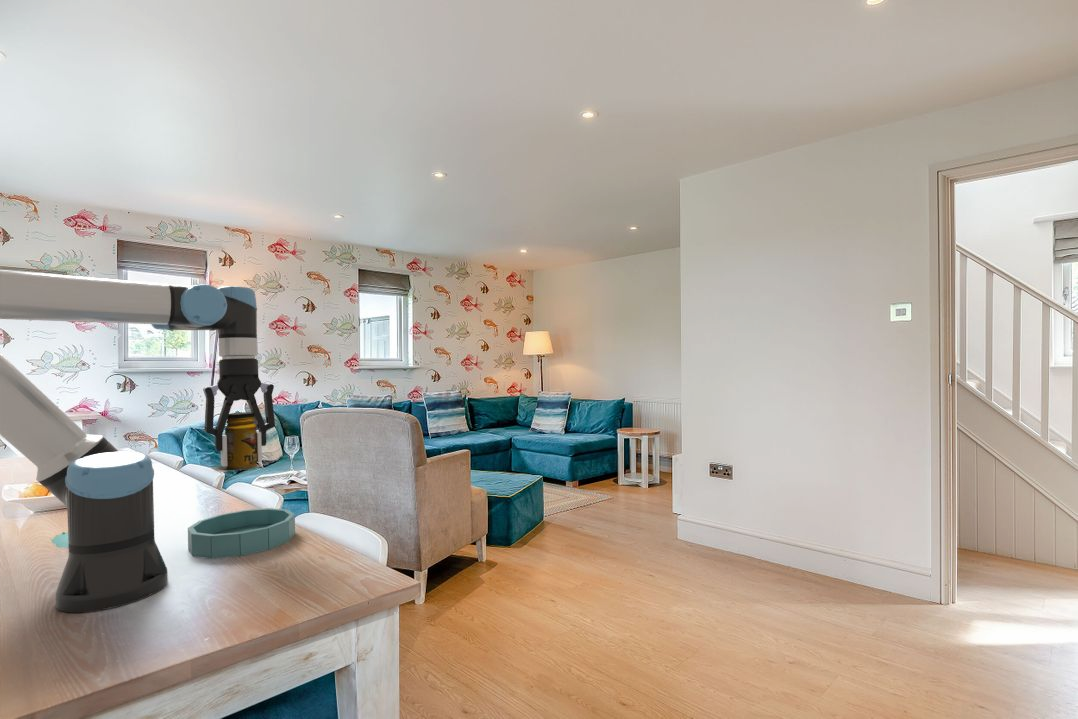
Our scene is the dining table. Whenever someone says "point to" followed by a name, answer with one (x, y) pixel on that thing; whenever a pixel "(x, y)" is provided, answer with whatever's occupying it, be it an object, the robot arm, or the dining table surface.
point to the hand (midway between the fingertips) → (241, 463)
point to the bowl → (241, 533)
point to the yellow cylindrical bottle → (240, 443)
